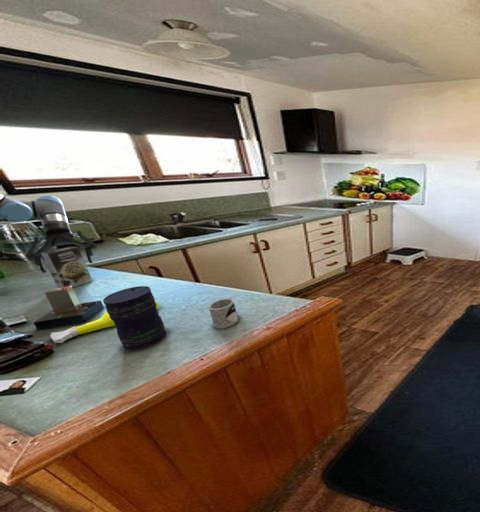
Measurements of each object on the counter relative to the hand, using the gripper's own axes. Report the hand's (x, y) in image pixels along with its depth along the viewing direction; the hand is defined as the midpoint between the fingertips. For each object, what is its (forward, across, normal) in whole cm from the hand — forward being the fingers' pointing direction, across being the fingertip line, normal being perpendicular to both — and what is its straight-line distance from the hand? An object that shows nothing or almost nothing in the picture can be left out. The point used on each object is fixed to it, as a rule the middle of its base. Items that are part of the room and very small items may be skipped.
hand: (67, 266), depth 115 cm
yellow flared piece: (+44, -11, +32) cm, 55 cm away
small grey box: (+32, -2, +25) cm, 41 cm away
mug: (+64, -39, +51) cm, 90 cm away
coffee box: (+6, 0, -6) cm, 9 cm away
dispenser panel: (+35, -2, +22) cm, 41 cm away
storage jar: (+59, -18, +47) cm, 78 cm away
